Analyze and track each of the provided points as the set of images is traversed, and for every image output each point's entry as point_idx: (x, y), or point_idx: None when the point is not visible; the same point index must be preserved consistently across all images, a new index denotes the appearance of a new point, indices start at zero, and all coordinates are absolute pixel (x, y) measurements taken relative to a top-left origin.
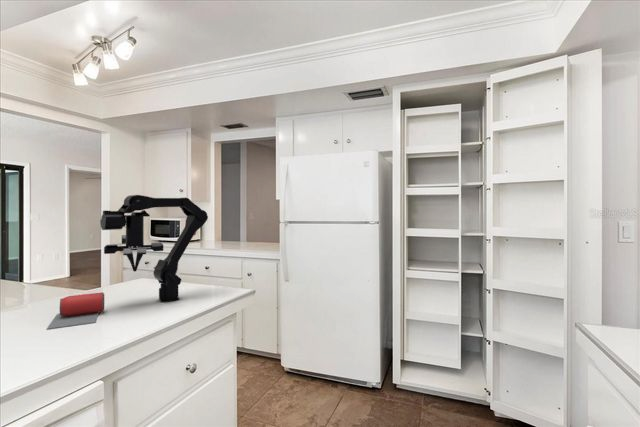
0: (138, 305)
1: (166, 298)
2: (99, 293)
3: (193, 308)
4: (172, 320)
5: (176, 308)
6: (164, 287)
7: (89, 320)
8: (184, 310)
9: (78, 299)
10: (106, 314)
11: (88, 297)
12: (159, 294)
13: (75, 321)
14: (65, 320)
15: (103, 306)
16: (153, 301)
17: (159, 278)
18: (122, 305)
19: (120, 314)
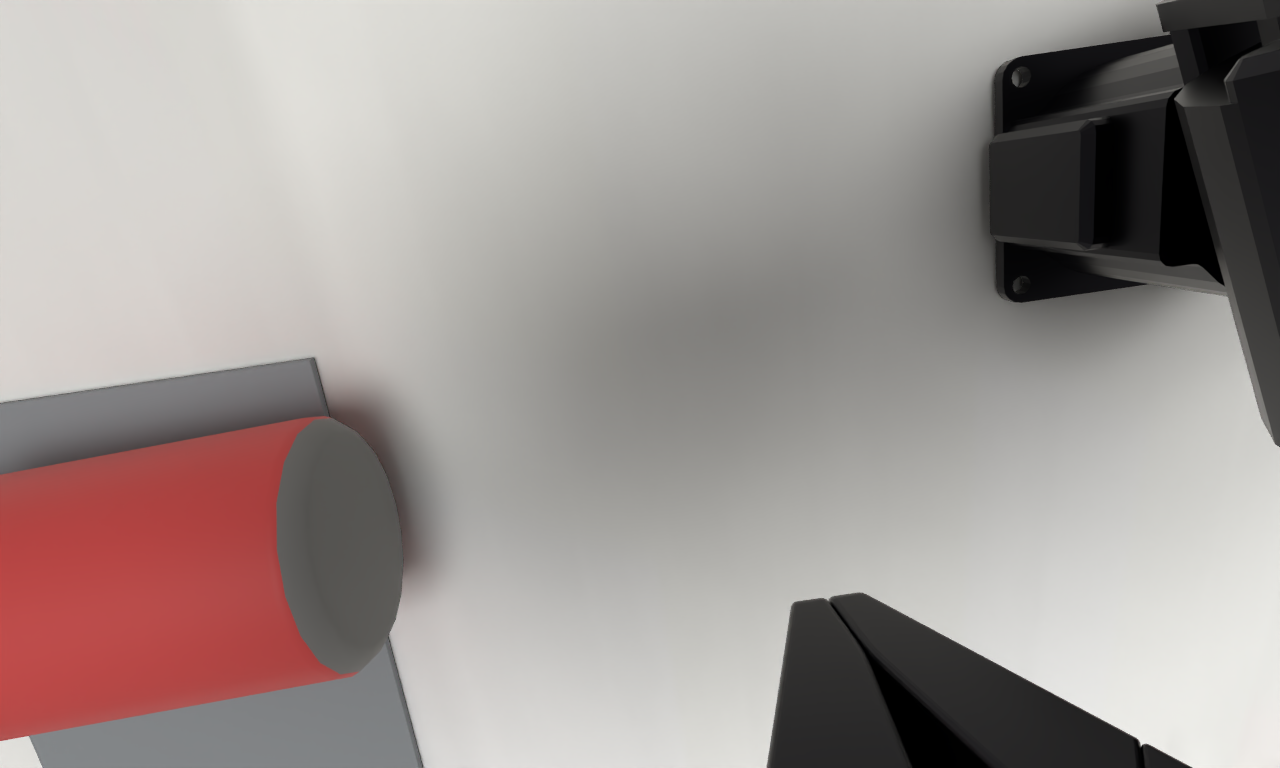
0: (734, 335)
1: (1085, 273)
2: (257, 648)
3: (1273, 661)
4: None
5: (1122, 606)
6: (1183, 272)
7: (361, 759)
8: (1180, 697)
9: (56, 727)
10: (454, 582)
11: (159, 702)
12: (1032, 241)
13: (242, 750)
14: None
15: (395, 613)
16: (904, 196)
17: (1253, 372)
18: (542, 260)
19: (594, 628)
